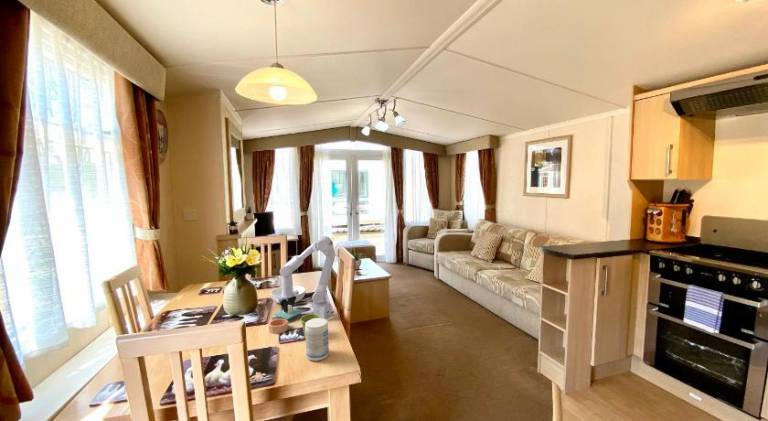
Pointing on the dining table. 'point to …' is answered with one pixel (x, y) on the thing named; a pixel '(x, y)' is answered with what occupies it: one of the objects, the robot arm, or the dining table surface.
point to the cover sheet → (288, 313)
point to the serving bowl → (278, 291)
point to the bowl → (278, 326)
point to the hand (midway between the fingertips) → (288, 311)
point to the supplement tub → (316, 339)
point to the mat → (290, 318)
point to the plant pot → (307, 318)
